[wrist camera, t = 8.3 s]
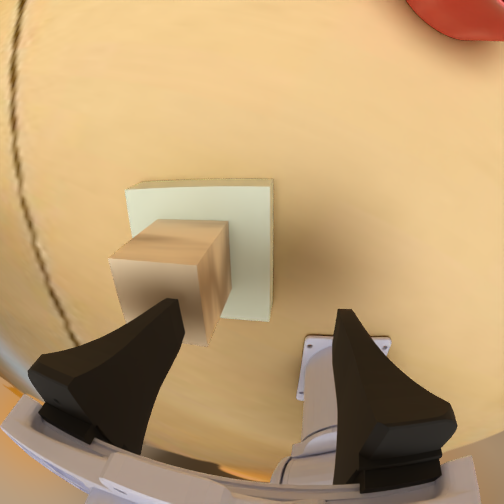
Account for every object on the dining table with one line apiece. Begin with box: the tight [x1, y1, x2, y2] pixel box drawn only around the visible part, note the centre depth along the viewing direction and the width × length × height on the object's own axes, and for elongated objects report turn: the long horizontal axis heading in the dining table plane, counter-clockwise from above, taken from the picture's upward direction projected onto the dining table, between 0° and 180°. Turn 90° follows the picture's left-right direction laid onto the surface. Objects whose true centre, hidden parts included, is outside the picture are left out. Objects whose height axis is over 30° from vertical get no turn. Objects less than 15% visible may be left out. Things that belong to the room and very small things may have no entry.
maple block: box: [108, 219, 232, 347], centre depth 17 cm, size 5×5×6 cm
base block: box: [125, 179, 274, 322], centre depth 21 cm, size 10×10×3 cm
